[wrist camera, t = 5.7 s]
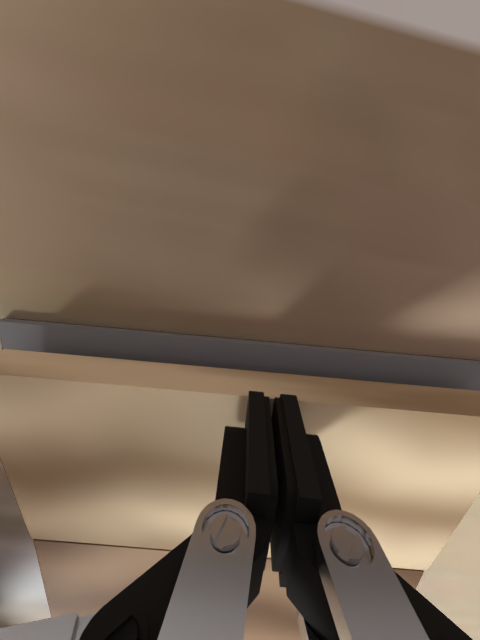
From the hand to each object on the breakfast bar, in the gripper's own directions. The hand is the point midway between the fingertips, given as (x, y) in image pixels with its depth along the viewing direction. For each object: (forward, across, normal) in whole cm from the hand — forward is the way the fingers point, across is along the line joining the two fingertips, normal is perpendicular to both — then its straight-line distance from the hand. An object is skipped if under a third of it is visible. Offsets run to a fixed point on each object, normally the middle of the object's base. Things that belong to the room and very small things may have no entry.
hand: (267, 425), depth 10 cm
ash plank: (+2, +1, +4) cm, 4 cm away
